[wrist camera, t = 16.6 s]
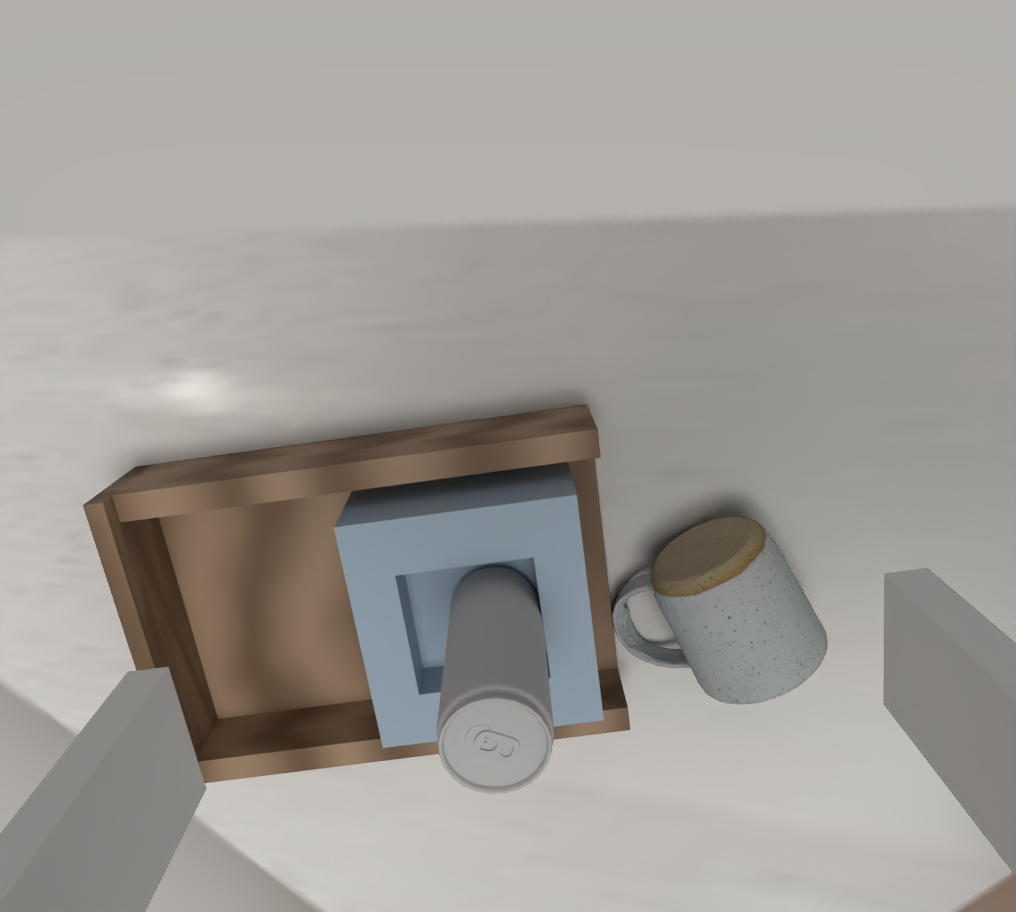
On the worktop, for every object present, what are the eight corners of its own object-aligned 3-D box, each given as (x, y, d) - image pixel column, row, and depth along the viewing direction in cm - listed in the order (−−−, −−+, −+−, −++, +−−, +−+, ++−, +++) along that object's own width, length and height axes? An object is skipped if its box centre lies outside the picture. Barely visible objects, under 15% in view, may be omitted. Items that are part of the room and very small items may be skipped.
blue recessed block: (566, 457, 44) (576, 494, 39) (591, 658, 48) (603, 720, 42) (354, 485, 45) (333, 527, 39) (396, 683, 49) (382, 747, 43)
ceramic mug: (742, 490, 46) (785, 546, 39) (801, 598, 49) (852, 669, 41) (583, 575, 48) (596, 643, 41) (647, 675, 50) (671, 757, 43)
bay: (586, 404, 45) (600, 434, 39) (617, 679, 50) (632, 741, 44) (135, 467, 45) (82, 505, 40) (214, 730, 51) (177, 797, 45)
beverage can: (469, 550, 42) (458, 679, 31) (553, 578, 43) (574, 716, 31) (439, 625, 43) (418, 777, 32) (521, 652, 44) (529, 810, 33)
